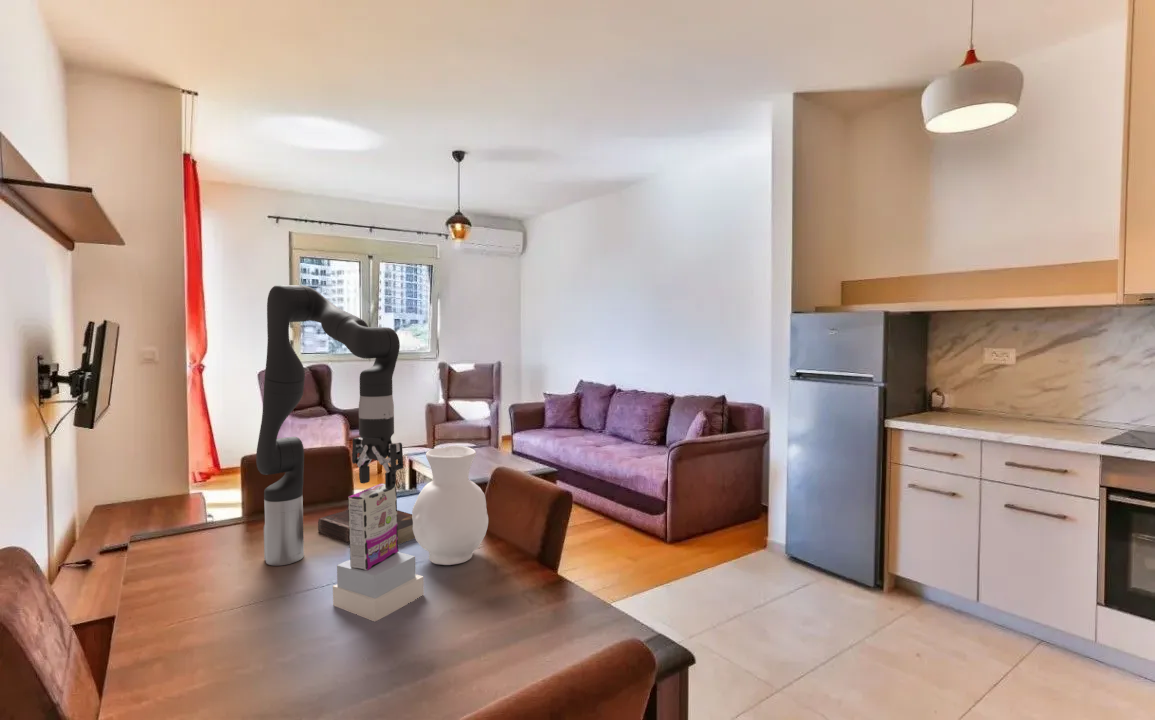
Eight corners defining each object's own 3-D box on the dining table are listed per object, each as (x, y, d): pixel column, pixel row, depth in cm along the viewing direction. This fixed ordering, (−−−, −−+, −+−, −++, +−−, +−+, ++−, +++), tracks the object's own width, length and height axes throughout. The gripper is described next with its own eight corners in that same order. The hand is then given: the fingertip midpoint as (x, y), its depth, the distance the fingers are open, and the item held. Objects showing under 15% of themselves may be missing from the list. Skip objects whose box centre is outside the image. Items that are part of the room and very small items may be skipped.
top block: (337, 586, 125) (336, 565, 125) (378, 567, 136) (378, 547, 135) (375, 598, 119) (374, 576, 119) (415, 577, 130) (415, 556, 130)
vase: (438, 582, 137) (437, 462, 136) (401, 556, 153) (400, 449, 152) (501, 562, 149) (501, 452, 148) (461, 540, 166) (461, 440, 164)
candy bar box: (381, 549, 134) (380, 482, 133) (398, 552, 132) (398, 484, 131) (348, 568, 123) (347, 495, 122) (366, 571, 121) (365, 497, 121)
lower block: (333, 607, 126) (332, 586, 125) (383, 583, 138) (382, 564, 137) (374, 624, 118) (374, 601, 118) (423, 597, 131) (423, 576, 130)
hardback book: (318, 533, 172) (317, 517, 172) (370, 517, 187) (370, 502, 187) (376, 554, 156) (376, 537, 155) (428, 534, 171) (428, 518, 171)
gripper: (341, 414, 126) (342, 484, 127) (384, 419, 119) (385, 494, 120) (369, 410, 133) (369, 477, 133) (411, 415, 125) (412, 486, 126)
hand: (377, 485), depth 127 cm, fingers open, 8 cm apart
